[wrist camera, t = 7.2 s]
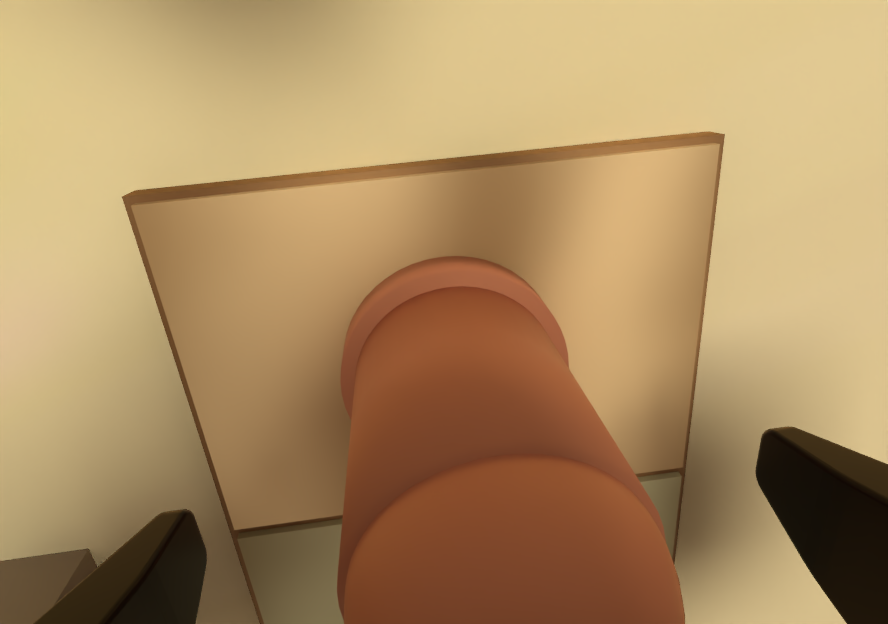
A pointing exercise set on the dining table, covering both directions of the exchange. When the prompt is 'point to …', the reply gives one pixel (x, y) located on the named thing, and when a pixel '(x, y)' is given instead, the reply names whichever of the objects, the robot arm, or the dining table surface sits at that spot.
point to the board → (385, 252)
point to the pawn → (485, 466)
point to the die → (39, 583)
